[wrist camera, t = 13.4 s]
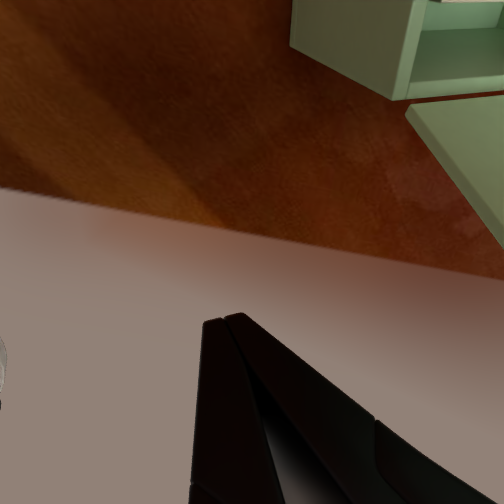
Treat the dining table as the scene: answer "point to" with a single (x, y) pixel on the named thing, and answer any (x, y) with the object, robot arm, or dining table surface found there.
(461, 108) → the flap
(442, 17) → the carton
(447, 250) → the dining table surface
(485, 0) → the block
